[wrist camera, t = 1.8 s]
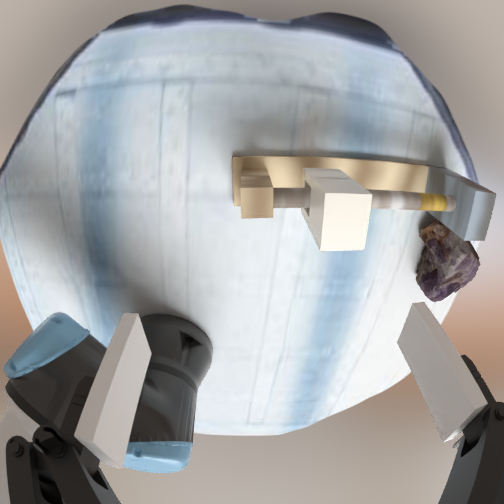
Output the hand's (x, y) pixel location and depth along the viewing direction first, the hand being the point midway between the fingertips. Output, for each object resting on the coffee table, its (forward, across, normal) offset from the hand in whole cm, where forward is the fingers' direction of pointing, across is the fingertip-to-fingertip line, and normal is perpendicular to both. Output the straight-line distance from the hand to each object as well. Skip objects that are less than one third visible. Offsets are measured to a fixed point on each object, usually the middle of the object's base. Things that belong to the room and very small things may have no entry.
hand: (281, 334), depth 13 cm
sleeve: (+20, +7, +1) cm, 21 cm away
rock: (+25, +28, -9) cm, 39 cm away
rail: (+25, +12, +1) cm, 28 cm away
